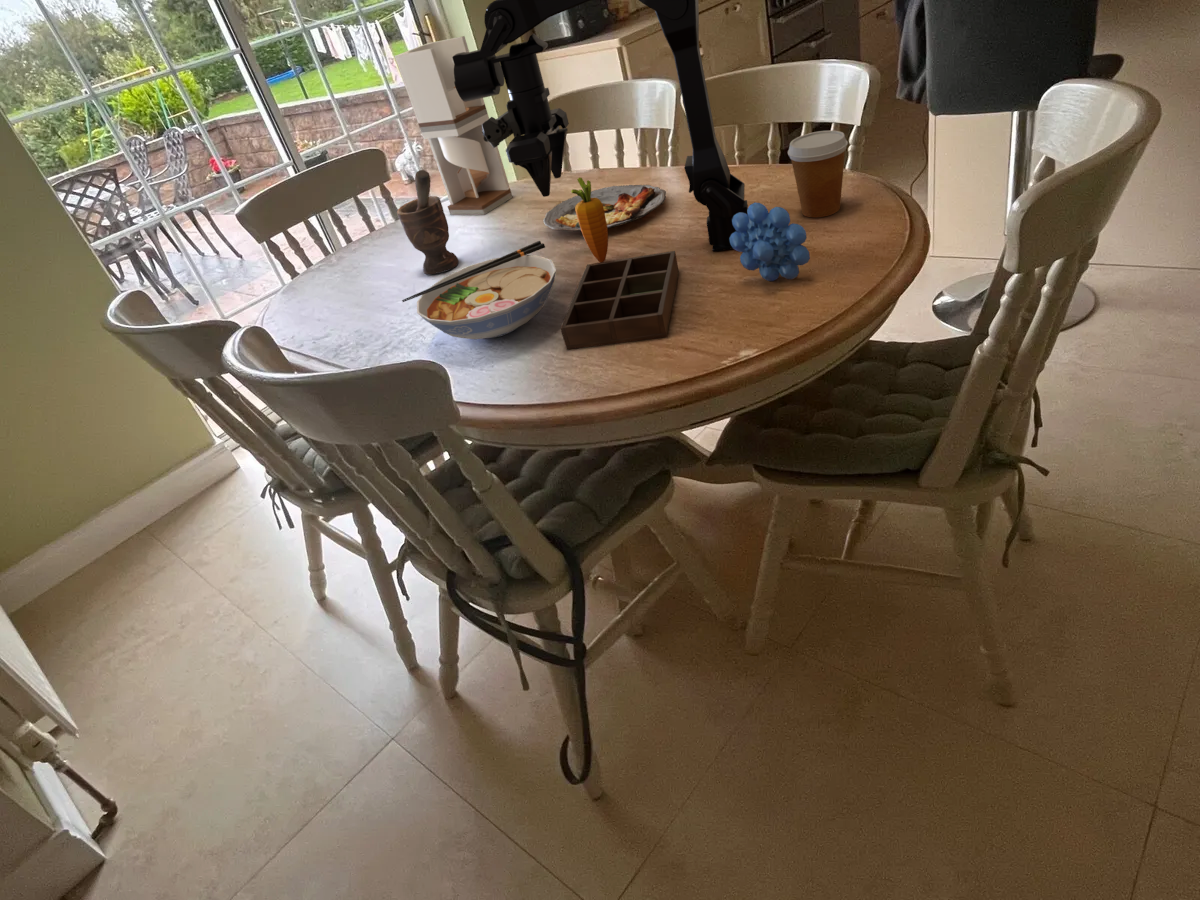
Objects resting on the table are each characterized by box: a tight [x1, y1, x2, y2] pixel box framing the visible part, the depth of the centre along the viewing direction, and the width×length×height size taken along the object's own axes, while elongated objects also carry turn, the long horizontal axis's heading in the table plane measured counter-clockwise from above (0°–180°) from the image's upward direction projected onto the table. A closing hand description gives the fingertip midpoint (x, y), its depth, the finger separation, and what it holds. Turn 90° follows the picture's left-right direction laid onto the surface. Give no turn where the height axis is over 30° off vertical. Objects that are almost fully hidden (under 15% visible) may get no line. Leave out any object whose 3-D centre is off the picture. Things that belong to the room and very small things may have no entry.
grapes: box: [729, 202, 811, 282], centre depth 107 cm, size 12×7×12 cm, turn 62°
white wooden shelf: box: [394, 35, 513, 216], centre depth 169 cm, size 11×11×35 cm
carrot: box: [570, 176, 609, 263], centre depth 128 cm, size 5×5×15 cm
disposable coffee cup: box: [787, 129, 849, 218], centre depth 125 cm, size 10×10×12 cm
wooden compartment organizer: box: [560, 250, 680, 350], centre depth 114 cm, size 15×22×4 cm
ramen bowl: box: [401, 240, 557, 340], centre depth 118 cm, size 25×23×8 cm
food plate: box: [543, 184, 667, 232], centre depth 151 cm, size 25×23×4 cm
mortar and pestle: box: [396, 169, 459, 276], centre depth 144 cm, size 12×9×20 cm
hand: (552, 186), depth 126 cm, fingers open, 9 cm apart
